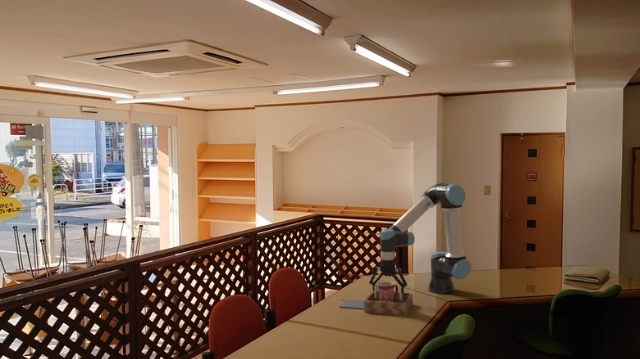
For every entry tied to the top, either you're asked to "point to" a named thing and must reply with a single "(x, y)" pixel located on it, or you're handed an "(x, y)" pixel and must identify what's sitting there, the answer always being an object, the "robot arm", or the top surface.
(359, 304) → the mat
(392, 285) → the mug
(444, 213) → the robot arm
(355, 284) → the top surface
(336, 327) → the top surface
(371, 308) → the crate
